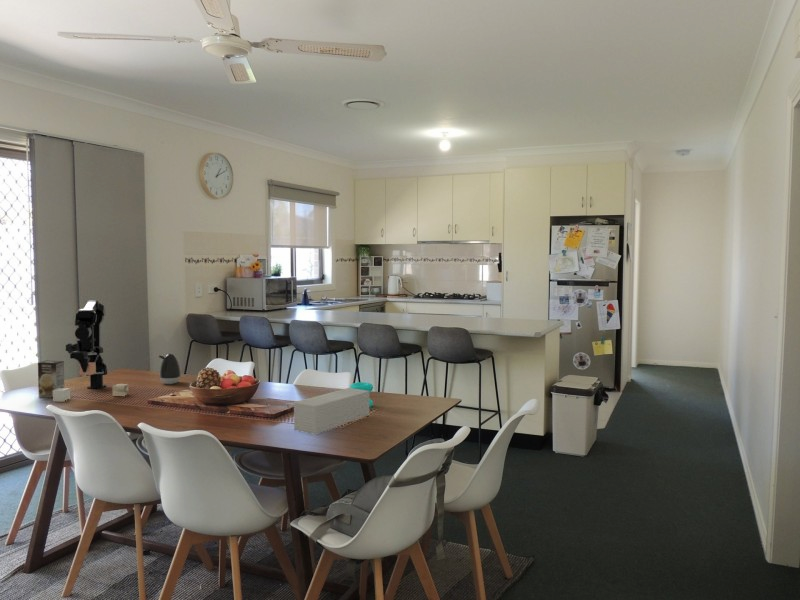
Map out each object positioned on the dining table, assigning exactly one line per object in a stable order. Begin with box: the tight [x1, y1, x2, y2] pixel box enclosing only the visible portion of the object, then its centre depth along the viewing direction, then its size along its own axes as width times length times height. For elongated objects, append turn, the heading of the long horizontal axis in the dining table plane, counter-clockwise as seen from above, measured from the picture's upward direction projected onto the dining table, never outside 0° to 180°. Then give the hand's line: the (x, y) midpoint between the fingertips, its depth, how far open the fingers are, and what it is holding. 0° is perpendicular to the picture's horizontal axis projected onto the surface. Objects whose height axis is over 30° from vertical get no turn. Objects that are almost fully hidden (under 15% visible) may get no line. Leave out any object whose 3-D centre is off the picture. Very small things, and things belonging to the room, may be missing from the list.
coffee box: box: [37, 359, 65, 398], centre depth 291 cm, size 9×6×16 cm
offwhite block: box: [52, 387, 71, 402], centre depth 283 cm, size 5×5×5 cm
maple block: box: [112, 383, 129, 397], centre depth 293 cm, size 5×5×5 cm
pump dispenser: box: [158, 353, 182, 385], centre depth 321 cm, size 10×10×15 cm
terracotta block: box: [78, 362, 96, 376], centre depth 288 cm, size 5×5×5 cm
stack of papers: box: [293, 387, 370, 435], centre depth 245 cm, size 32×11×11 cm, turn 145°
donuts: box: [349, 381, 374, 408], centre depth 272 cm, size 10×10×10 cm
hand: (87, 371), depth 288 cm, fingers closed on terracotta block, 5 cm apart
